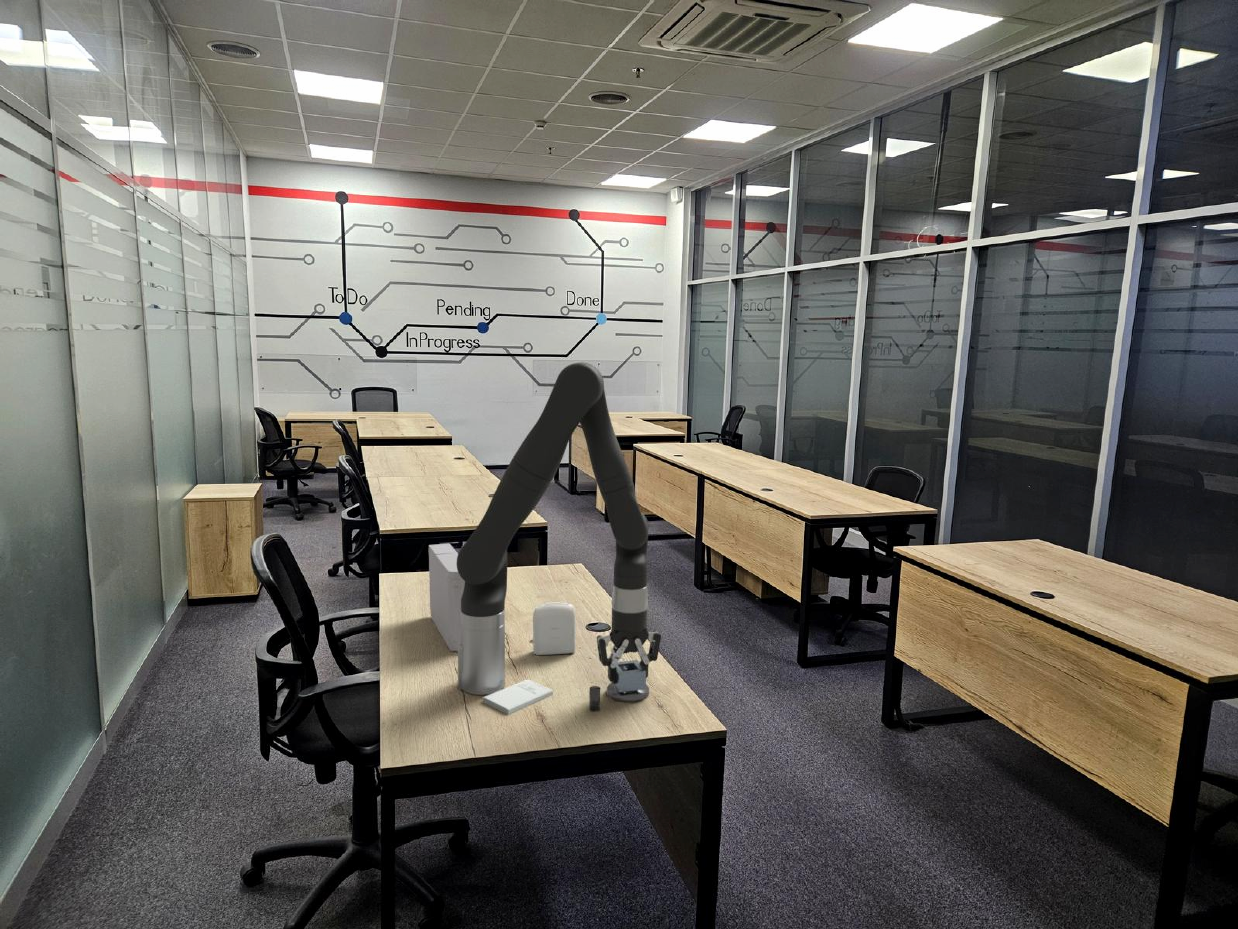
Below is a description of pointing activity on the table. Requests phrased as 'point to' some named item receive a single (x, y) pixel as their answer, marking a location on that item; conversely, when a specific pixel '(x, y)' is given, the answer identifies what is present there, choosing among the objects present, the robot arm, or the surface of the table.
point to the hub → (627, 694)
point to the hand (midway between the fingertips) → (628, 680)
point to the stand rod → (594, 698)
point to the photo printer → (554, 629)
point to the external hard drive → (517, 696)
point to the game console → (446, 593)
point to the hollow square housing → (630, 676)
